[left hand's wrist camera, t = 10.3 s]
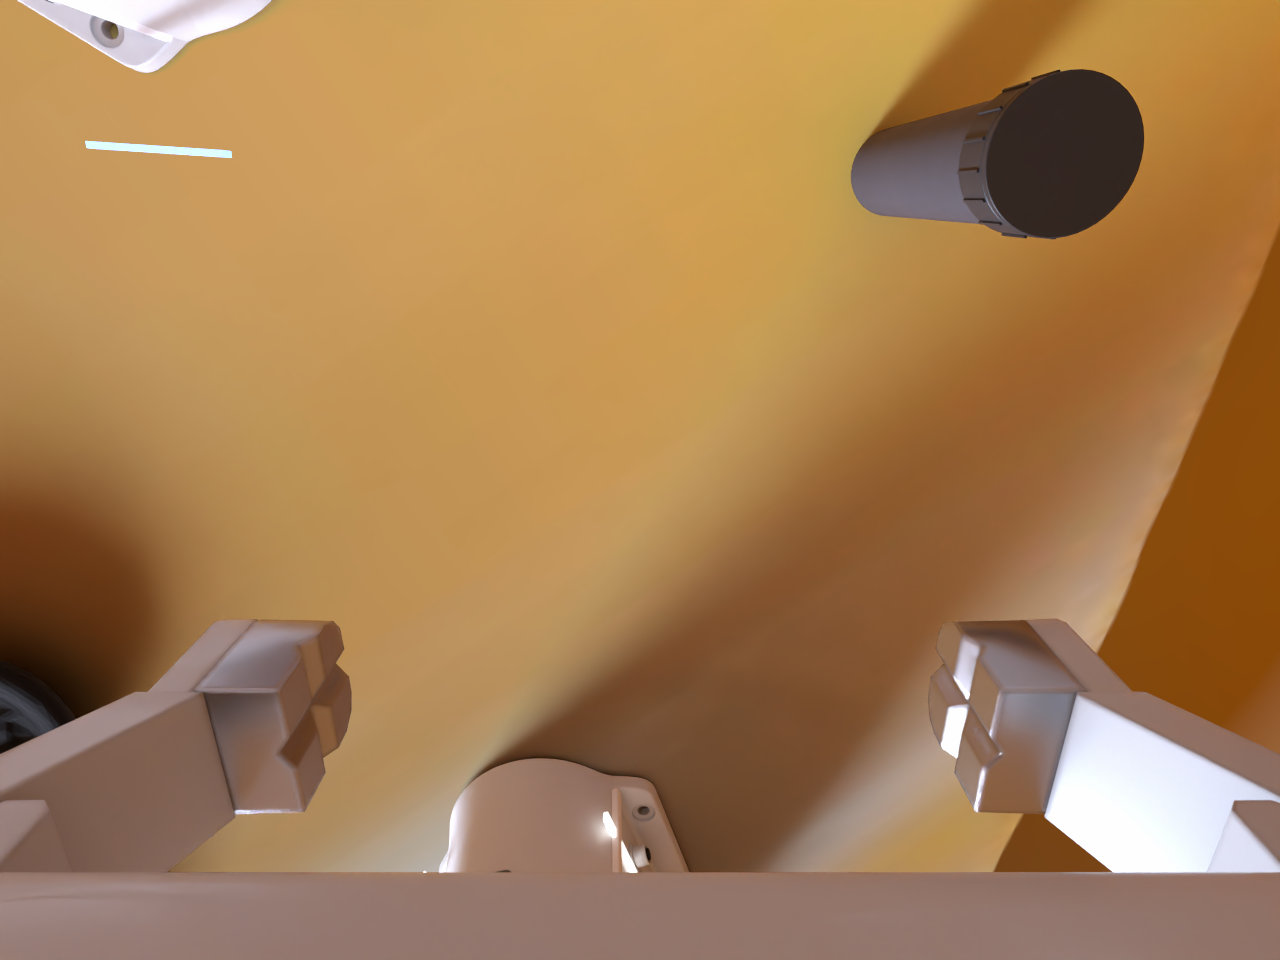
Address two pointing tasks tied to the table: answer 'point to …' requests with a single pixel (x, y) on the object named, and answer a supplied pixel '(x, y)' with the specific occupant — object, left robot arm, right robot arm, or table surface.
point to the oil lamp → (27, 707)
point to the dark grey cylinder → (916, 168)
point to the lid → (1051, 154)
